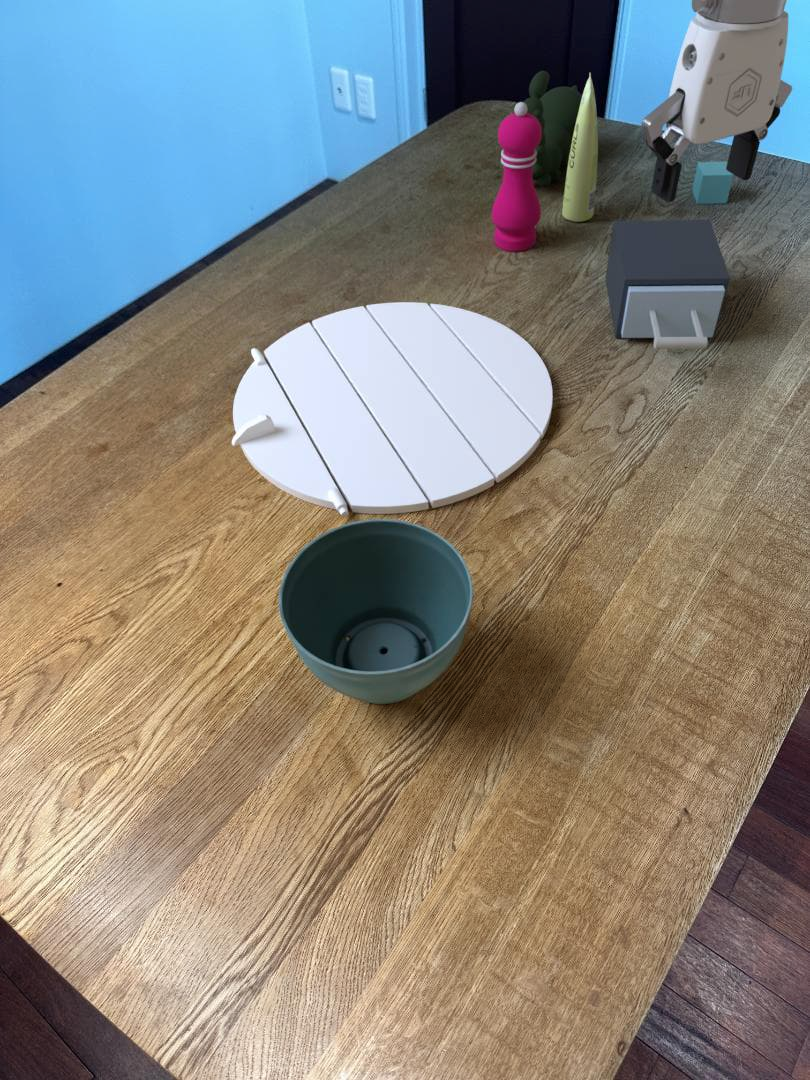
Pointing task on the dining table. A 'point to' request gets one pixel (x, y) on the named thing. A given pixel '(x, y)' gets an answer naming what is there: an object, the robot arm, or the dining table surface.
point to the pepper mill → (517, 182)
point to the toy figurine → (552, 126)
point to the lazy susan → (393, 407)
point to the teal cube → (712, 183)
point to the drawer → (673, 314)
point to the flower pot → (377, 607)
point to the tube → (582, 161)
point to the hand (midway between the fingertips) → (700, 185)
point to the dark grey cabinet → (661, 259)
